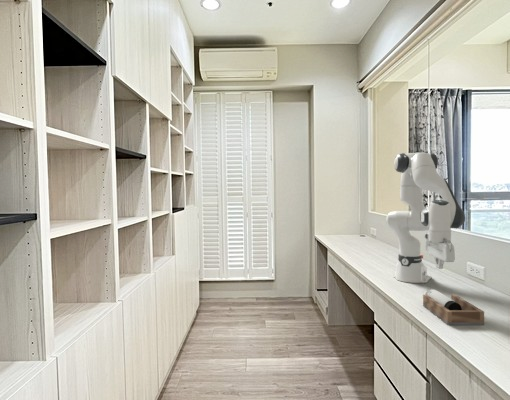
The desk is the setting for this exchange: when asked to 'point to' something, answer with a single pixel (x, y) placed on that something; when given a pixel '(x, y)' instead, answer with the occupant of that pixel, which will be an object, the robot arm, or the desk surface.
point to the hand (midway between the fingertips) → (439, 268)
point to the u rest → (455, 312)
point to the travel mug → (443, 300)
